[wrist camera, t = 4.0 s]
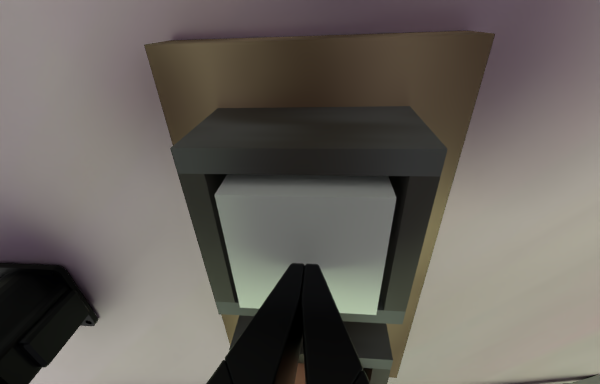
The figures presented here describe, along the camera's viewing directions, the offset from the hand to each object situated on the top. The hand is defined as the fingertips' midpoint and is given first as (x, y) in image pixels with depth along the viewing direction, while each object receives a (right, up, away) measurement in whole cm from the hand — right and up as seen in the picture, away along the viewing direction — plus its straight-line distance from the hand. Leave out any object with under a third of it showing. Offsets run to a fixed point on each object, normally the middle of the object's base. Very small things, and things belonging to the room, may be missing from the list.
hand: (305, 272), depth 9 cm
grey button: (0, +2, +4) cm, 4 cm away
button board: (+1, -1, +9) cm, 9 cm away
